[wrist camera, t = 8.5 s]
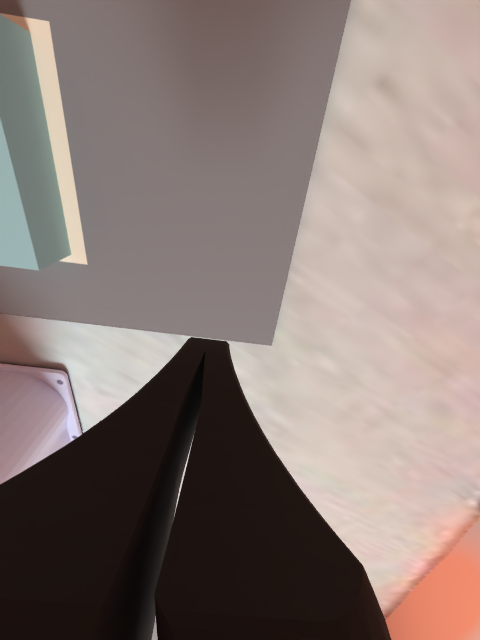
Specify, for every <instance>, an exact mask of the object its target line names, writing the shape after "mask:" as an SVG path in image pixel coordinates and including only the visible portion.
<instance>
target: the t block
mask: <svg viewBox="0 0 480 640" xmlns="http://www.w3.org/2000/svg"><path fill="white" fill-rule="evenodd" d="M70 255H71V250H70V245H69V239H68V234H67V228H66V223H65V218H64V212H63V207H62V201H61V196H60V191H59V185H58V180H57V174H56V169H55V164H54V158H53V153H52V147H51V142H50V136H49V131H48V126H47V120H46V115H45V109H44V104H43V99H42V93H41V88H40V82H39V77H38V72H37V66H36V61H35V55H34V50H33V45H32V39H31V34H30V32H28V31H27V30H25V29H24V28H22V27H20V26H19V25H17V24H16V23H14V22H12V21H11V20H9V19H8V18H6V17H4V16H3V15H1V14H0V266H7V267H15V268H23V269H31V270H41V269H43V268H45V267H47V266H49V265H51V264H53V263H55V262H57V261H59V260H61V259H63V258H66V257H68V256H70Z"/></svg>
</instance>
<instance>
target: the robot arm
mask: <svg viewBox="0 0 480 640" xmlns="http://www.w3.org/2000/svg"><path fill="white" fill-rule="evenodd" d="M194 432H195V433H194ZM193 436H194V437H193ZM192 439H193V442H192ZM191 443H192V446H191ZM190 446H191V450H190ZM189 450H190V455H189V459H188V463H187V467H186V471H185V476H184V480H183V484H182V488H181V492H180V496H179V500H178V504H177V508H176V503H177V498H178V493H179V488H180V484H181V479H182V475H183V471H184V468H185V464H186V461H187V457H188V454H189ZM175 508H176V512H175ZM174 513H175V516H174ZM173 519H174V520H173ZM155 616H156V623H157V636H158V640H391V637H390V634H389V631H388V628H387V624H386V622H385V619H384V616H383V613H382V611H381V608H380V606H379V603H378V601H377V598H376V596H375V593H374V591H373V588H372V586H371V583H370V581H369V579H368V576H367V574H366V571H365V569H364V567H363V565H362V564H361V563H360V562H359V560H358V559H357V558H356V557H355V556H354V555H353V553H352V552H351V551H350V550H349V549H348V548H347V546H346V545H345V544H344V543H343V542H342V540H341V539H340V538H339V537H338V536H337V535H336V533H335V532H334V531H333V530H332V528H331V527H330V526H329V525H328V523H327V522H326V521H325V520H324V519H323V517H322V516H321V515H320V514H319V512H318V511H317V510H316V508H315V507H314V506H313V504H312V503H311V502H310V501H309V499H308V498H307V497H306V495H305V494H304V493H303V491H302V490H301V489H300V487H299V486H298V485H297V483H296V482H295V480H294V479H293V477H292V476H291V474H290V473H289V472H288V470H287V469H286V467H285V466H284V464H283V463H282V461H281V460H280V459H279V457H278V456H277V454H276V453H275V451H274V449H273V448H272V446H271V445H270V443H269V441H268V440H267V438H266V436H265V435H264V433H263V431H262V429H261V428H260V426H259V424H258V422H257V420H256V418H255V417H254V415H253V413H252V411H251V409H250V407H249V404H248V402H247V400H246V398H245V396H244V393H243V391H242V389H241V386H240V383H239V381H238V378H237V375H236V373H235V370H234V366H233V363H232V359H231V355H230V349H229V344H228V343H227V341H219V340H210V339H202V338H194V337H191V338H189V339H188V340H187V341H186V343H185V344H184V345H183V346H182V348H181V349H180V350H179V351H178V352H177V353H176V355H175V356H174V357H173V358H172V359H171V360H170V361H169V362H168V363H167V364H166V365H165V366H164V367H163V368H162V369H161V370H160V372H159V373H158V374H157V375H155V376H154V377H153V378H152V379H151V380H150V381H149V382H148V383H147V384H146V385H145V386H144V387H142V388H141V389H140V390H139V391H138V392H137V393H136V394H135V395H133V396H132V397H131V398H130V399H129V400H128V401H126V402H125V403H124V404H123V405H121V406H120V407H119V408H118V409H116V410H115V411H114V412H112V413H111V414H110V415H108V416H107V417H106V418H104V419H103V420H102V421H100V422H99V423H97V424H96V425H95V426H93V427H92V428H90V429H89V430H87V431H86V432H85V433H83V434H82V432H81V428H80V424H79V420H78V416H77V412H76V408H75V404H74V400H73V396H72V392H71V388H70V384H69V380H68V376H67V374H66V373H65V372H64V371H62V370H55V369H46V368H37V367H28V366H19V365H10V364H1V363H0V640H151V639H152V633H153V628H154V622H155Z"/></svg>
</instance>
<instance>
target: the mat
mask: <svg viewBox="0 0 480 640" xmlns="http://www.w3.org/2000/svg"><path fill="white" fill-rule="evenodd" d="M350 1H351V0H0V14H1V15H3V16H4V17H6V18H8V19H9V20H11V21H12V22H14V23H16V24H17V25H19V26H20V27H22V28H24V29H25V30H27V31H28V32H30V34H31V39H32V45H33V50H34V55H35V61H36V66H37V72H38V77H39V82H40V88H41V93H42V99H43V104H44V109H45V115H46V120H47V126H48V131H49V136H50V142H51V147H52V153H53V158H54V164H55V169H56V174H57V180H58V185H59V191H60V196H61V201H62V207H63V212H64V218H65V223H66V228H67V234H68V239H69V245H70V250H71V255H70V256H68V257H66V258H63V259H61V260H59V261H57V262H55V263H53V264H51V265H49V266H47V267H45V268H43V269H41V270H31V269H23V268H15V267H7V266H0V313H2V314H10V315H18V316H27V317H35V318H43V319H52V320H60V321H69V322H77V323H85V324H94V325H102V326H111V327H119V328H127V329H136V330H144V331H153V332H161V333H169V334H178V335H186V336H195V337H203V338H211V339H220V340H228V341H237V342H245V343H253V344H262V345H270V346H272V342H273V337H274V333H275V329H276V324H277V320H278V316H279V311H280V307H281V302H282V298H283V294H284V289H285V285H286V281H287V276H288V272H289V267H290V263H291V259H292V254H293V250H294V246H295V241H296V237H297V233H298V228H299V224H300V219H301V215H302V211H303V206H304V202H305V198H306V193H307V189H308V184H309V180H310V176H311V171H312V167H313V163H314V158H315V154H316V150H317V145H318V141H319V136H320V132H321V128H322V123H323V119H324V115H325V110H326V106H327V101H328V97H329V93H330V88H331V84H332V80H333V75H334V71H335V67H336V62H337V58H338V53H339V49H340V45H341V40H342V36H343V32H344V27H345V23H346V18H347V14H348V10H349V5H350Z"/></svg>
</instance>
